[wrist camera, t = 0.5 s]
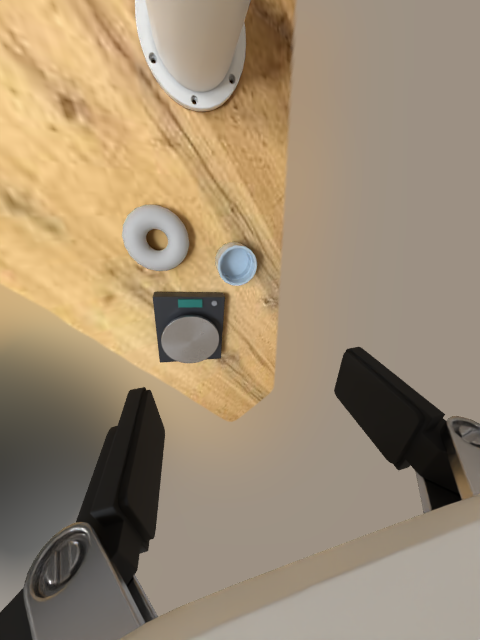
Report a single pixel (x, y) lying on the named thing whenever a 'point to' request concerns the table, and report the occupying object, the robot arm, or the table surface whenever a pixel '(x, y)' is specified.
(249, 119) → the table surface
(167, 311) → the scale
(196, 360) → the scale pan
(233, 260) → the light blue cup
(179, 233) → the donut
